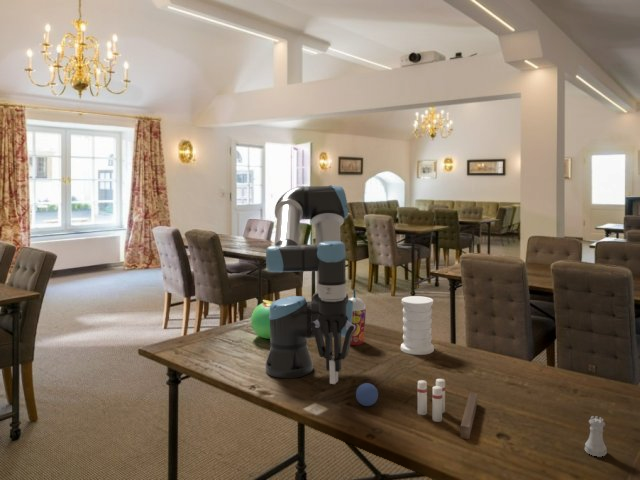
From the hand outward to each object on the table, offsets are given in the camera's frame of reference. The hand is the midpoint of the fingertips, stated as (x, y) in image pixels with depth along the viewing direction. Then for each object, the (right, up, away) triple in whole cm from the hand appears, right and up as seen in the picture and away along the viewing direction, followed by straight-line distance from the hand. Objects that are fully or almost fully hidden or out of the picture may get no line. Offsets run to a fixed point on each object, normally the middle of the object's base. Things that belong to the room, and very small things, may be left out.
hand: (334, 381), depth 149 cm
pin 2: (+26, -7, -12) cm, 29 cm away
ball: (+9, -3, -3) cm, 10 cm away
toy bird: (-22, +2, +59) cm, 63 cm away
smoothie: (+9, +1, +50) cm, 51 cm away
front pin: (+23, -6, -8) cm, 25 cm away
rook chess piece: (+58, -8, -29) cm, 65 cm away
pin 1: (+28, -6, -7) cm, 29 cm away
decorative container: (+31, 0, +41) cm, 52 cm away
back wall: (+34, -6, -12) cm, 37 cm away
